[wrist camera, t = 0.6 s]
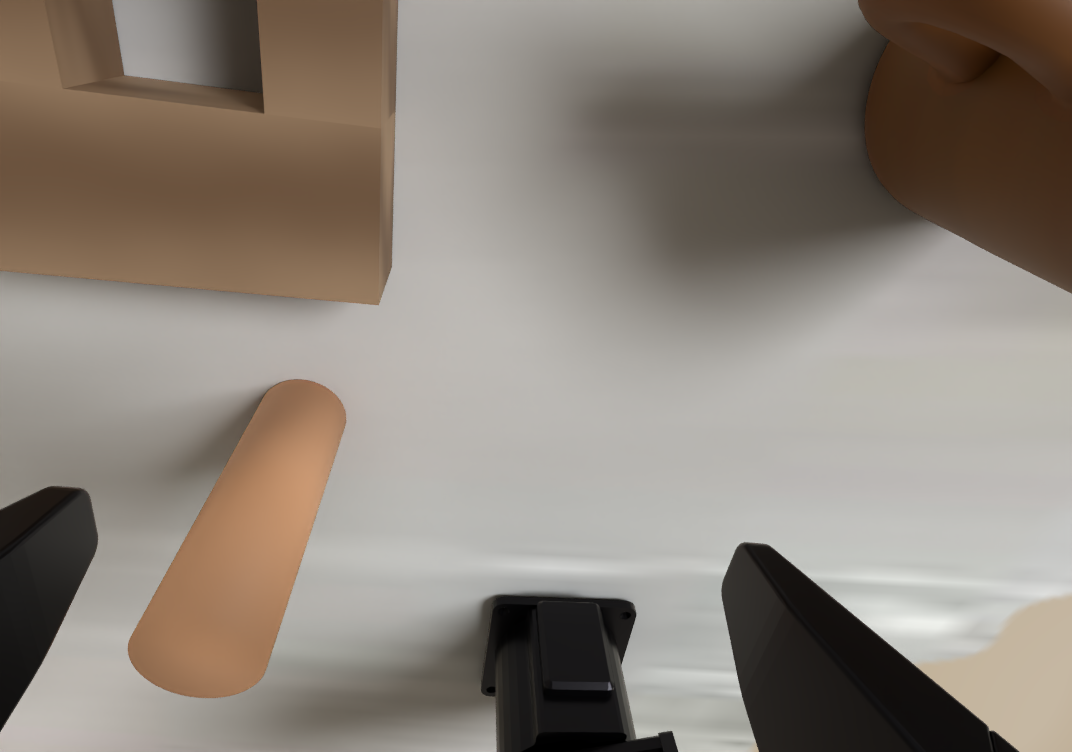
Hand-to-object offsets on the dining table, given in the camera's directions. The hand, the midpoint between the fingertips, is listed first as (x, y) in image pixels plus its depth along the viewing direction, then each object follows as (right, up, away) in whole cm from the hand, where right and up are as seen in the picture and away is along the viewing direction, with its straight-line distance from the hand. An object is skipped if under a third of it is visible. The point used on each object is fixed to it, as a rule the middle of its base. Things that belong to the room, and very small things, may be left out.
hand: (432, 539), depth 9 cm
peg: (-7, +1, +14) cm, 16 cm away
